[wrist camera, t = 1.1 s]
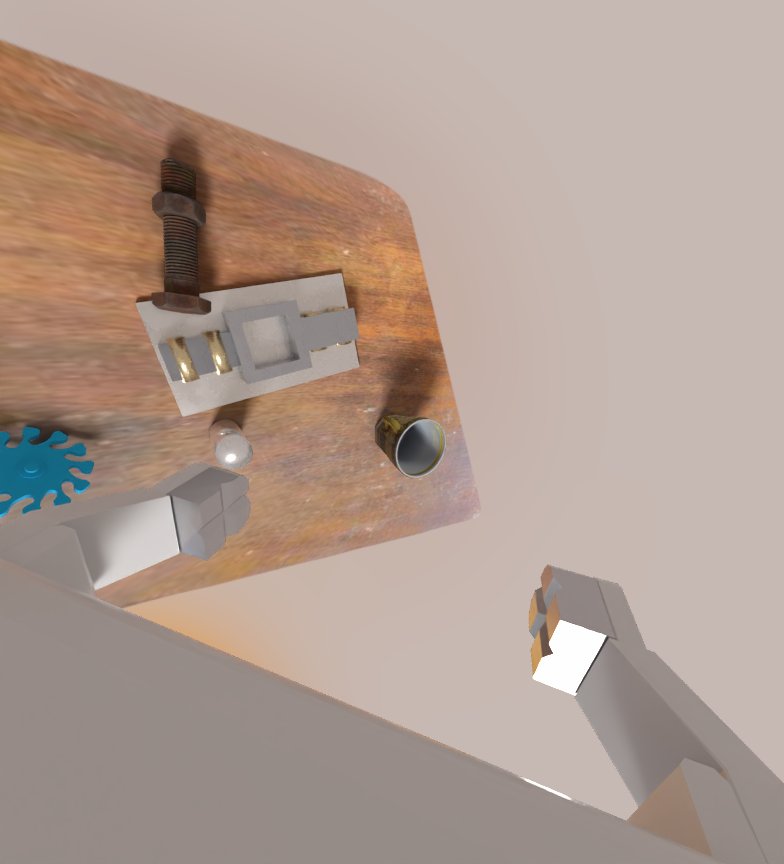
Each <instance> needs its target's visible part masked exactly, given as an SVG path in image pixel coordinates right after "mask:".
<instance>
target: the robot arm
mask: <svg viewBox="0 0 784 864" xmlns="http://www.w3.org/2000/svg"><path fill="white" fill-rule="evenodd" d="M248 490H249V480H248V478H246V477H245V476H244V475H240V474H237V473H234V472H231V471H228V470H225V469H222V468H219V467H214V466H212V465H208V464H205V463H202V462H200V463H194V464H192V465H190V466H188V467H187V468H185V469H183V470H181V471H180V472H178V473H176V474H174V475H173V476H171V477H169V478H167V479H165V480H164V481H162V482H160V483H158V484H157V485H155V486H153V487H151V488H149V489H148V488H139V489H134V490H129V491H125V492H120V493H115V494H110V495H105V496H101V497H96V498H91V499H86V500H81V501H76V502H72V503H67V504H62V505H57V506H52V507H47V508H43V509H38V510H33V511H29V512H27V513H25V514H23V515H21V516H19V517H17V518H15V519H13V520H11V521H8V522H6V523H4V524H2V525H0V864H784V783H783V782H782V781H781V780H780V779H779V778H778V777H777V776H776V775H775V774H774V773H773V772H772V771H771V770H770V769H769V768H768V767H767V766H766V765H765V764H764V763H763V762H762V761H761V760H760V759H759V758H758V757H757V756H756V755H755V754H754V753H753V752H752V751H751V750H750V749H749V748H748V747H747V746H746V745H745V744H744V743H743V742H742V741H741V740H740V739H739V738H738V737H737V736H736V735H735V733H733V731H732V730H731V729H730V728H729V727H728V726H727V725H726V724H725V723H724V722H723V721H722V720H720V718H719V717H718V716H717V715H716V714H715V713H714V712H713V711H712V710H711V709H710V708H709V707H708V706H707V705H706V704H705V703H704V702H703V701H702V700H701V699H700V698H699V697H698V696H697V695H696V694H695V693H694V692H693V691H692V690H691V689H690V688H689V687H688V686H687V685H686V684H685V683H684V682H683V681H682V680H681V679H680V678H679V677H678V676H677V675H676V674H675V673H674V671H673V670H672V669H671V668H670V667H669V666H668V665H667V664H666V663H665V662H664V661H663V660H662V659H661V658H660V657H659V656H658V655H657V654H656V653H655V652H651V651H649V650H647V649H646V647H645V644H644V642H643V639H642V637H641V634H640V632H639V630H638V627H637V624H636V622H635V620H634V617H633V615H632V612H631V610H630V607H629V605H628V602H627V600H626V597H625V595H624V592H623V590H622V588H621V587H620V586H619V585H618V584H617V583H613V582H609V581H606V580H602V579H598V578H595V577H594V578H592V577H589V576H585V575H582V574H578V573H575V572H571V571H568V570H564V569H561V568H557V567H554V566H550V565H547V566H546V567H545V569H544V571H543V573H542V576H541V581H542V587H541V588H539V589H537V590H535V593H534V596H533V598H532V601H531V606H530V611H529V631H530V633H531V635H532V636H533V637H534V639H535V641H534V643H533V645H532V648H531V657H532V670H533V678H534V679H536V680H539V681H541V682H544V683H546V684H549V685H552V686H554V687H557V688H559V689H562V690H565V691H567V692H569V693H572V694H575V698H576V700H577V702H578V703H579V705H580V707H581V709H582V710H583V712H584V714H585V716H586V717H587V719H588V721H589V722H590V724H591V726H592V728H593V729H594V731H595V733H596V734H597V736H598V738H599V740H600V741H601V743H602V745H603V747H604V748H605V750H606V752H607V753H608V755H609V757H610V758H611V760H612V762H613V764H614V765H615V767H616V769H617V771H618V772H619V774H620V776H621V777H622V779H623V781H624V782H625V784H626V786H627V788H628V789H629V791H630V793H631V795H632V796H633V798H634V800H635V802H636V803H637V805H638V807H639V808H638V809H637V810H636V811H635V812H634V813H633V814H632V815H631V817H630V818H629V819H628V820H627V821H625V820H623V819H620V818H618V817H616V816H613V815H611V814H609V813H606V812H604V811H602V810H599V809H597V808H594V807H592V806H590V805H587V804H585V803H583V802H580V801H577V800H576V799H573V798H571V797H568V796H566V795H564V794H561V793H559V792H557V791H554V790H552V789H549V788H547V787H544V786H542V785H540V784H537V783H535V782H532V781H530V780H528V779H526V778H523V777H521V776H518V775H516V774H514V773H511V772H509V771H507V770H504V769H502V768H499V767H497V766H495V765H492V764H490V763H488V762H485V761H483V760H480V759H478V758H476V757H473V756H471V755H468V754H466V753H464V752H461V751H459V750H457V749H454V748H452V747H449V746H447V745H444V744H442V743H440V742H438V741H435V740H433V739H430V738H428V737H426V736H423V735H421V734H419V733H416V732H414V731H411V730H409V729H407V728H404V727H402V726H399V725H397V724H394V723H392V722H390V721H387V720H385V719H382V718H380V717H378V716H376V715H373V714H371V713H369V712H366V711H364V710H361V709H359V708H356V707H354V706H352V705H349V704H347V703H345V702H342V701H340V700H338V699H335V698H333V697H330V696H328V695H326V694H323V693H321V692H318V691H316V690H314V689H311V688H309V687H307V686H304V685H302V684H299V683H297V682H295V681H292V680H290V679H288V678H285V677H283V676H280V675H278V674H276V673H273V672H271V671H269V670H266V669H264V668H261V667H259V666H257V665H254V664H252V663H250V662H247V661H245V660H242V659H240V658H238V657H235V656H233V655H230V654H228V653H226V652H223V651H221V650H219V649H216V648H214V647H211V646H209V645H207V644H204V643H202V642H200V641H197V640H194V639H193V638H190V637H188V636H185V635H183V634H181V633H178V632H175V631H173V630H171V629H168V628H166V627H164V626H162V625H159V624H157V623H154V622H152V621H150V620H147V619H145V618H143V617H140V616H138V615H135V614H133V613H131V612H128V611H126V610H124V609H121V608H119V607H117V606H114V605H112V604H109V603H107V602H105V601H102V600H100V599H98V597H97V594H96V591H95V590H97V589H100V588H102V587H104V586H106V585H109V584H111V583H113V582H116V581H118V580H120V579H122V578H125V577H127V576H129V575H131V574H134V573H136V572H138V571H141V570H143V569H145V568H147V567H150V566H152V565H154V564H157V563H159V562H161V561H163V560H166V559H168V558H170V557H172V556H175V555H177V554H179V552H182V553H185V554H188V555H191V556H194V557H198V558H201V559H204V560H208V559H209V558H210V557H212V556H213V555H214V554H215V553H216V552H217V551H218V550H219V549H220V548H221V547H222V546H224V545H225V541H226V537H228V536H231V535H234V534H236V533H238V532H239V531H240V530H241V529H242V528H243V527H244V525H245V523H246V521H247V520H248V518H249V514H250V501H249V499H248V498H247V496H246V495H245V494H246V493H247V491H248Z"/></svg>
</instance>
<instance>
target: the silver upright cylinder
mask: <svg viewBox="0 0 784 864" xmlns="http://www.w3.org/2000/svg"><path fill="white" fill-rule="evenodd" d="M209 437H210V440H211V443H212V446H213V448H214V451H215V454H216V457H217V460H218V462H219V463H220V465H222V466H223V467H225V468H227V469H233V470H234V469H240V468H242V467H244V466H246V465H247V464H248V463H249V462H250V460H251V458H252V455H253V450H252V447H251V445H250V444H249V442H248V440H247V439H246V437H245V436H244V434H243V433H242V431H241V429H240V428H239V426H238V425H237V424H236V423H235V422H234V421H231V420H227V419H223V420H219V421H217V422H215V423H214V424H213V425H212V426H211V428H210V430H209Z"/></svg>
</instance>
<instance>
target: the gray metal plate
mask: <svg viewBox="0 0 784 864" xmlns="http://www.w3.org/2000/svg"><path fill="white" fill-rule="evenodd" d="M199 295H200V298H203V299H206V300H209V301H211V312H210V313H208V314H206V315H198V314H186V313H178V312H172V311H166V310H161V309H158V308H157V307H156V306H154V305H153V304H152V301H147V302H140V303H135V304H136V306H137V309H138V311H139V314H140V316H141V318H142V321H143V323H144V325H145V328H146V330H147V333H148V335H149V337H150V340H151V342H152V344H153V347H154V349H155V352H156V354H157V356H158V359H159V361H160V364H161V366H162V368H163V371H164V373H165V375H166V378H167V380H168V383H169V385H170V387H171V390H172V392H173V394H174V397H175V399H176V402H177V404H178V406H179V409H180V411H181V413H182V416H183V417H184V416H187V415H191V414H195V413H198V412H202V411H205V410H209V409H212V408H216V407H219V406H223V405H226V404H230V403H234V402H237V401H241V400H244V399H248V398H251V397H255V396H258V395H262V394H266V393H269V392H273V391H276V390H280V389H283V388H287V387H290V386H294V385H297V384H301V383H305V382H308V381H312V380H315V379H319V378H322V377H326V376H329V375H333V374H337V373H340V372H344V371H347V370H351V369H354V368H358V367H359V362H358V357H357V351H356V346H355V341H354V340H356V339H359V333H358V328H357V322H356V317H355V311H354V308H348V304H347V299H346V293H345V288H344V283H343V277H342V273H338V274H332V275H325V276H318V277H311V278H304V279H297V280H290V281H284V282H277V283H270V284H263V285H256V286H249V287H243V288H236V289H229V290H222V291H215V292H208V293H201V294H199Z"/></svg>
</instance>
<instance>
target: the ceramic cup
mask: <svg viewBox="0 0 784 864" xmlns="http://www.w3.org/2000/svg"><path fill="white" fill-rule="evenodd" d="M375 442H376V444H377V445H378V446H379V447H380V448H381V449H382V450H383V452H384V453H385V454H386V455H387V456H388V458H389V459H390V461H391V462H392V463H393V464H394V465H395V466H396V468H397V469H398V470H399V471H400V472H401V473H402V474H404V475H405V476H407V477H410V478H419V477H423V476H425V475H427V474H429V473H430V472H431V471H433V470H434V469H435V468H436V467H437V465H438V464H439V462H440V461H441V459H442V457H443V454H444V451H445V447H446V437H445V433H444V430H443V428H442V427H441V425H440V424H439V423H438V422H436V421H434V420H432V419H428V418H423V417H411V416H403V415H392V416H383V418H382V419H381V420H380V422H379V423H378V424H377V426H376V427H375Z"/></svg>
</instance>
